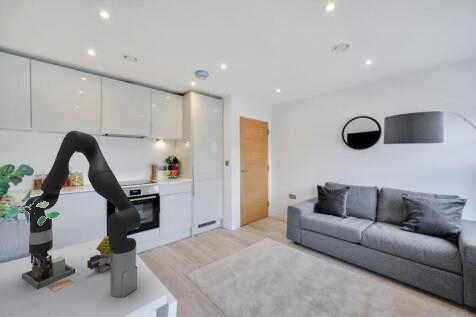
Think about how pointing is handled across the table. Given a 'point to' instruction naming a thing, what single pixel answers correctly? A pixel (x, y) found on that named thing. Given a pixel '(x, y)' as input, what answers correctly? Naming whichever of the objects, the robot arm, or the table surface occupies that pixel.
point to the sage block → (57, 266)
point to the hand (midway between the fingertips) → (41, 275)
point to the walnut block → (37, 273)
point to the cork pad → (60, 284)
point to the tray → (28, 277)
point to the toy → (101, 257)
